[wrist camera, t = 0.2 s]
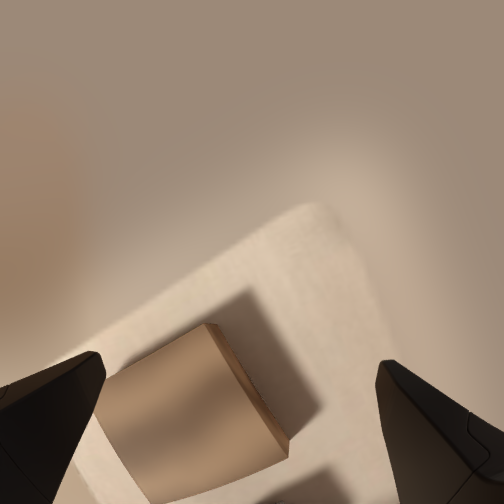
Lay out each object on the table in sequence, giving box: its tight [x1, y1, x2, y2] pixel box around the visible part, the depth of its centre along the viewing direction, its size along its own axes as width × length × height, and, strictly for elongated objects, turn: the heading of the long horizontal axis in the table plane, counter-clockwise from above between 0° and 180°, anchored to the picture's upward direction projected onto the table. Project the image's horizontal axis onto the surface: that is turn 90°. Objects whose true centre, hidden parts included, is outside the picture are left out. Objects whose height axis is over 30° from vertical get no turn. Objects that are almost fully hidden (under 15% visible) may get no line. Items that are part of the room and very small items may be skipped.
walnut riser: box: [93, 323, 289, 504], centre depth 21 cm, size 11×12×4 cm
